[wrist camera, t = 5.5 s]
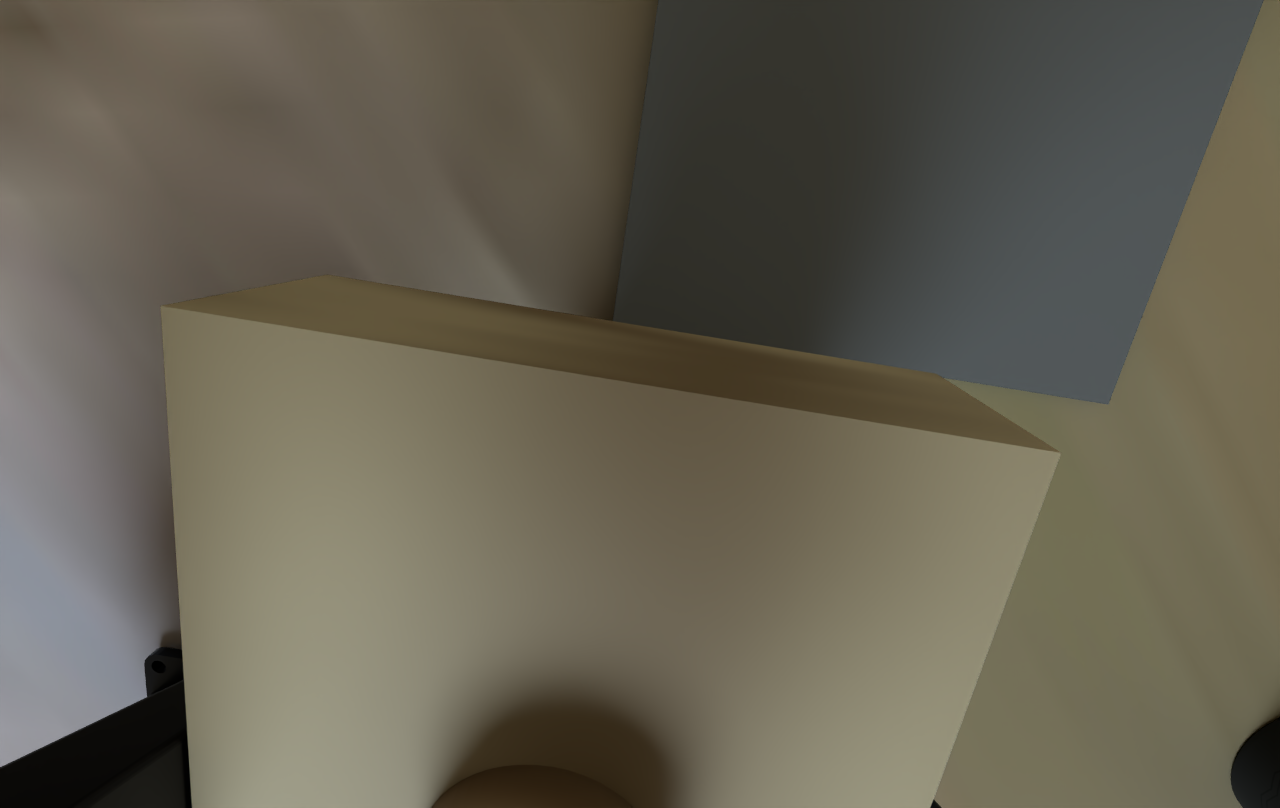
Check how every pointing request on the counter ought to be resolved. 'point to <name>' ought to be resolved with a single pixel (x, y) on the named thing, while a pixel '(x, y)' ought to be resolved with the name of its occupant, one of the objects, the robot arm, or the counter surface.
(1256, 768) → the drinking cup
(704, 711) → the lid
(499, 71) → the counter surface
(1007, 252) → the mat
